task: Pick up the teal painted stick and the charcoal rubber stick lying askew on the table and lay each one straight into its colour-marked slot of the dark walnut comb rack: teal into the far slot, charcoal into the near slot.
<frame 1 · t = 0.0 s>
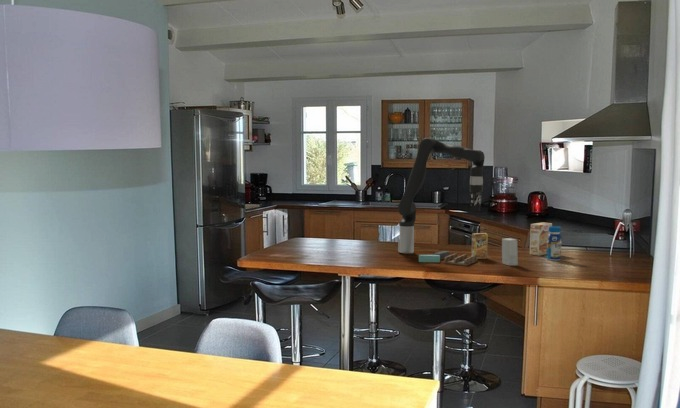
hand: (475, 211, 352), 29 cm above the table, tool pointing down, fingers open, 8 cm apart
coffeecake box: (540, 254, 377), on the table
charcoal stick: (441, 258, 358), on the table
skincare box: (509, 264, 340), on the table
teal stick: (429, 262, 348), on the table
candy box: (479, 258, 359), on the table
beverage bottle: (553, 259, 356), on the table
comb rack: (460, 262, 347), on the table
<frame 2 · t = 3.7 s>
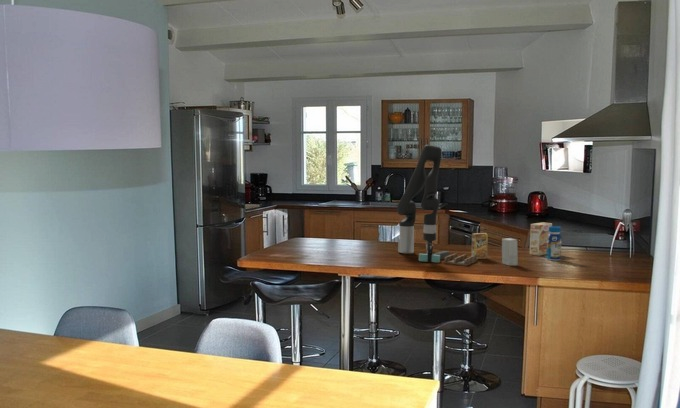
hand: (429, 260, 348), 0 cm above the table, tool pointing down, fingers closed on teal stick, 3 cm apart
teal stick: (429, 261, 347), on the table, touching gripper
everything else where it was.
when the fingers open (4 cm above the table, at t = 16.9 s): teal stick stays where it is, resting on comb rack.
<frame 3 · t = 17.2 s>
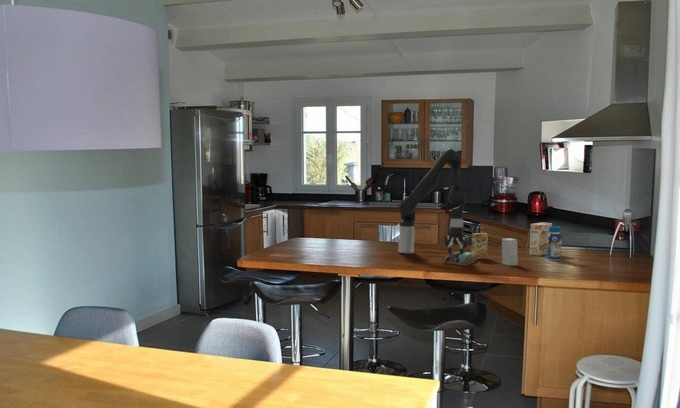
hand: (455, 254, 348), 4 cm above the table, tool pointing down, fingers open, 6 cm apart
charcoal stick: (455, 259, 348), point 1 cm above the table, touching comb rack
teal stick: (465, 260, 345), point 1 cm above the table, touching comb rack, gripper
everything else where it was.
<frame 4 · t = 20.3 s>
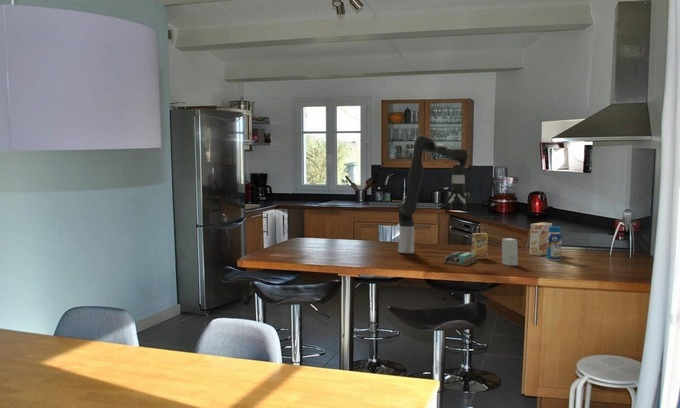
hand: (457, 209, 352), 30 cm above the table, tool pointing down, fingers open, 8 cm apart
teal stick: (465, 260, 345), point 1 cm above the table, touching comb rack
everything else where it was.
at the end: teal stick inside the target area (0.1 cm from its centre), point 1.0 cm above the table; charcoal stick inside the target area (0.1 cm from its centre), point 1.0 cm above the table; the gripper is holding nothing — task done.
